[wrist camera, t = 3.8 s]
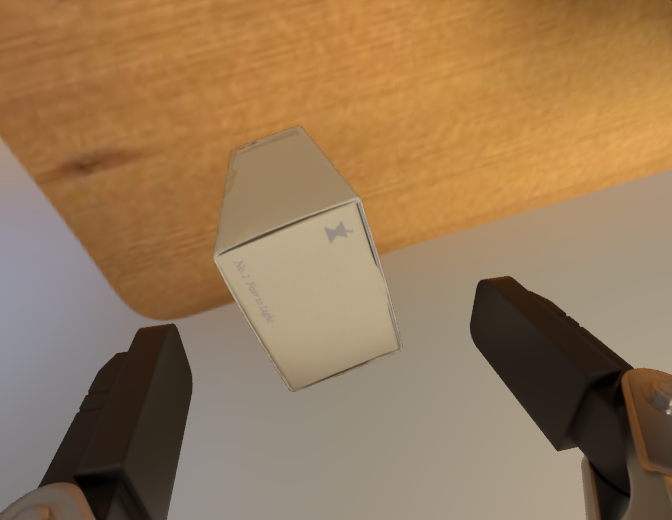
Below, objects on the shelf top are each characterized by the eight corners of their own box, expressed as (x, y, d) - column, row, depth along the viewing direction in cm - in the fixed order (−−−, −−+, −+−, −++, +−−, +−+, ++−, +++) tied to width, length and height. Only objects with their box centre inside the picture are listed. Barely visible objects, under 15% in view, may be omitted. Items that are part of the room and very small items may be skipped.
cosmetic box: (228, 149, 20) (197, 247, 9) (304, 122, 20) (361, 187, 9) (271, 245, 23) (286, 399, 12) (337, 221, 23) (407, 354, 12)
